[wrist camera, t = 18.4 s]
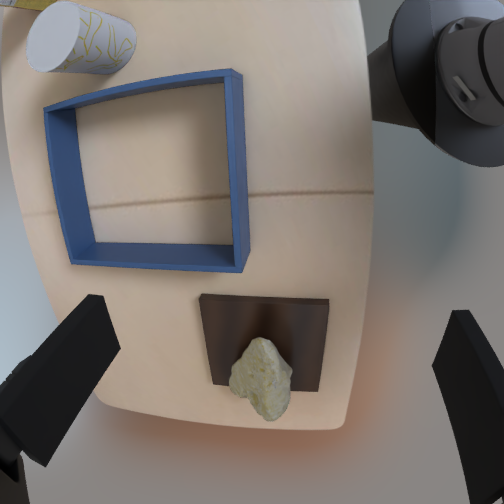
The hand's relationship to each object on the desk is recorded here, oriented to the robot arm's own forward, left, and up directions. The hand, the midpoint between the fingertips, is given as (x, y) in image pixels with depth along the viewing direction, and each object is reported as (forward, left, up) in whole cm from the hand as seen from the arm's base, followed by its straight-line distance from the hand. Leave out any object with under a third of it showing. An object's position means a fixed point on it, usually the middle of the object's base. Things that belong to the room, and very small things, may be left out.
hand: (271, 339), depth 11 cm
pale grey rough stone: (+5, +26, -27) cm, 38 cm away
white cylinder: (+23, -19, -29) cm, 42 cm away
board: (+4, +26, -29) cm, 39 cm away
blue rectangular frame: (+18, -1, -29) cm, 34 cm away
